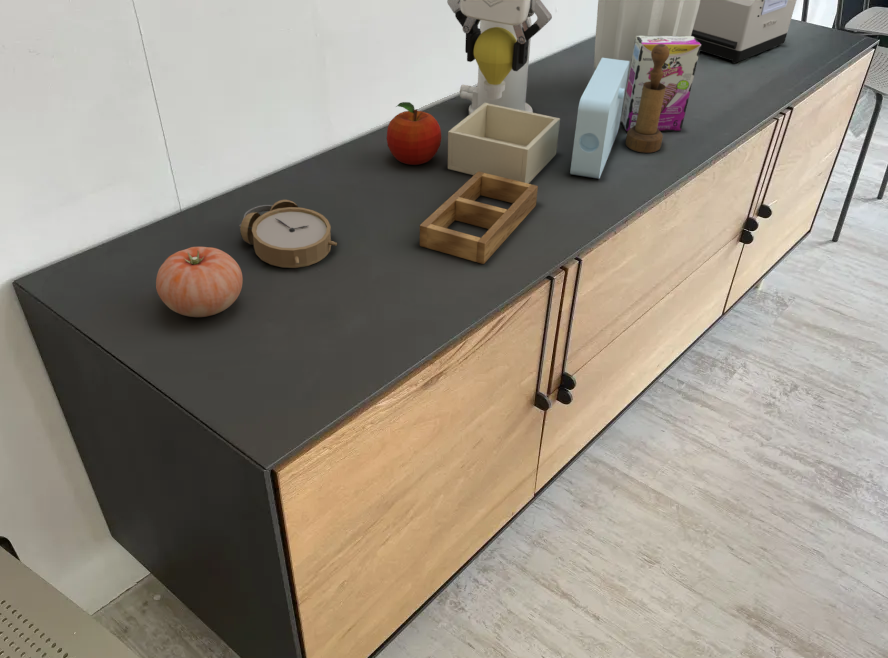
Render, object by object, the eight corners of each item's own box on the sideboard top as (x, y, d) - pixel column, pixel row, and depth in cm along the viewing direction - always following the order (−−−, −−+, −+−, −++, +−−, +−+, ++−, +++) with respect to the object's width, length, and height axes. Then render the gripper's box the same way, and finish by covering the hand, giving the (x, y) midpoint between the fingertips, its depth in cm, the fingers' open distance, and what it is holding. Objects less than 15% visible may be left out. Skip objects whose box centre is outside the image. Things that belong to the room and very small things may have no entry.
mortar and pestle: (660, 154, 142) (681, 53, 130) (624, 151, 143) (642, 49, 131) (660, 139, 147) (680, 40, 135) (625, 136, 148) (642, 37, 136)
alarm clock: (286, 261, 107) (220, 206, 113) (286, 288, 111) (222, 234, 116) (348, 231, 113) (282, 181, 119) (346, 257, 117) (282, 207, 123)
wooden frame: (419, 246, 116) (419, 225, 114) (477, 190, 130) (478, 171, 128) (483, 264, 113) (484, 243, 110) (536, 205, 126) (538, 185, 124)
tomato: (148, 324, 100) (133, 272, 95) (185, 279, 108) (172, 228, 103) (227, 335, 99) (216, 283, 94) (259, 288, 107) (250, 237, 102)
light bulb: (479, 106, 117) (481, 37, 110) (466, 89, 121) (468, 22, 115) (521, 102, 118) (526, 34, 111) (507, 85, 123) (512, 19, 116)
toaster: (735, 66, 178) (756, -16, 166) (646, 39, 191) (660, -39, 180) (788, 45, 190) (810, -33, 178) (700, 20, 204) (716, -54, 192)
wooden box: (447, 169, 136) (448, 131, 131) (483, 138, 146) (484, 102, 141) (524, 188, 131) (528, 149, 126) (556, 154, 141) (560, 118, 136)
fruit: (426, 176, 133) (426, 119, 127) (377, 165, 136) (375, 109, 130) (450, 154, 140) (451, 99, 134) (403, 144, 143) (401, 90, 136)
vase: (698, 106, 159) (732, -42, 141) (616, 119, 154) (640, -35, 136) (646, 74, 173) (672, -65, 155) (569, 84, 167) (586, -59, 149)
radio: (603, 182, 133) (615, 106, 124) (569, 177, 134) (579, 101, 125) (623, 129, 150) (635, 59, 141) (593, 125, 151) (603, 55, 142)
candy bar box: (625, 132, 149) (641, 43, 138) (619, 122, 153) (634, 34, 142) (683, 132, 150) (702, 43, 139) (675, 121, 153) (694, 34, 143)
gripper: (432, -74, 105) (432, 61, 117) (552, -57, 99) (539, 83, 111) (457, -85, 110) (455, 45, 122) (573, -69, 104) (559, 66, 116)
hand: (495, 62), depth 116 cm, fingers closed on light bulb, 6 cm apart
